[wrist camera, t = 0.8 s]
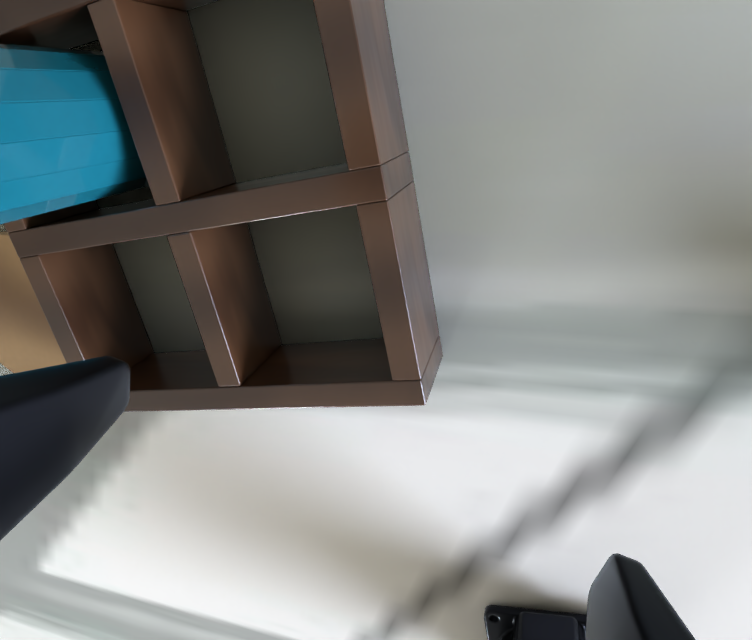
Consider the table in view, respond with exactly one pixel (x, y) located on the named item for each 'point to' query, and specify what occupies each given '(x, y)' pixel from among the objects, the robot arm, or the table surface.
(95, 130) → the tumbler
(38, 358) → the coaster
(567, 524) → the table surface
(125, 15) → the glass rack
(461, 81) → the table surface
